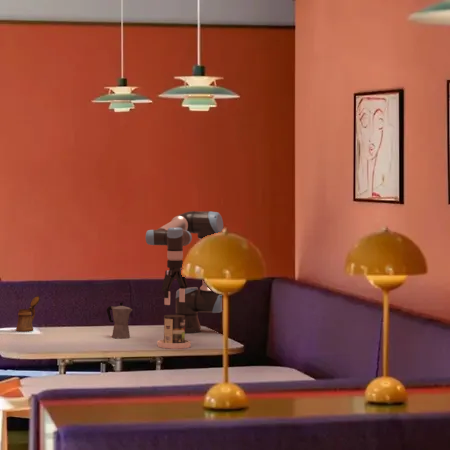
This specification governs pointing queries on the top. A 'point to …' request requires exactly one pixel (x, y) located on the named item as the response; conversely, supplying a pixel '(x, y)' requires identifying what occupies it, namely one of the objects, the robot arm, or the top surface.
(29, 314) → the brown tapered pot
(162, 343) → the round dish
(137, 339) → the top surface
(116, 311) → the coffeepot
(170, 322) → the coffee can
